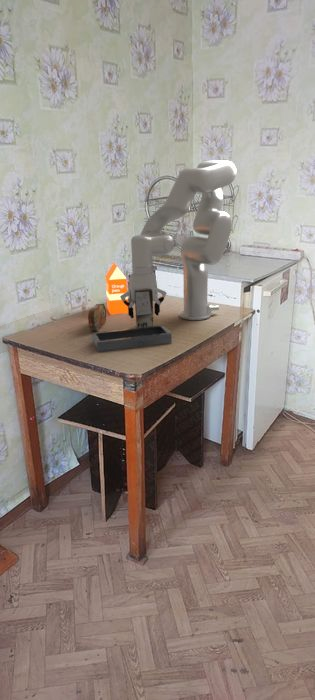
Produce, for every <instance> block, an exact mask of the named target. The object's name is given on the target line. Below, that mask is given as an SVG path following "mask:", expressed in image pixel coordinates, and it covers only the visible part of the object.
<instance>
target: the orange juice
mask: <svg viewBox="0 0 315 700" xmlns="http://www.w3.org/2000/svg"><path fill="white" fill-rule="evenodd" d="M127 280H128V279H127V277H126V275H124V273H123V272H122V271H121V269H120V268H119V267H118V265H117V264H116V263H115V262H113V263H112V264H111V266H110V268H109V270H108V271H107V273H106V275H105V289H106V290H105V291H106V292H105V293H106V302H107V303H106V304H107V305H106V306H107V308H106V309H107V311H108V312H109V314H110V315H119V314H128V306H127V305H125V304H124V303H123V301H122V299H121V298H120V296H121V295H123V294H124V293H126V292H127V291H128V281H127ZM125 299H126V301H127V302H128V299H129V296H127V297H126V298H125Z"/></svg>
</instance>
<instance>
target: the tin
mask: <svg viewBox="0 0 315 700" xmlns="http://www.w3.org/2000/svg"><path fill="white" fill-rule="evenodd" d="M106 309H107V308H106V306H105V304H104V303H97V304H95V305H94V306H93V307H91V308H90V310H89V311H88V316H87V320H88V325H89V326H88V328H89V329H90V331H95V332H100V330H101V329H102V327H104V326H105V324H106V321H107V310H106Z"/></svg>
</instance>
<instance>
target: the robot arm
mask: <svg viewBox="0 0 315 700" xmlns="http://www.w3.org/2000/svg"><path fill="white" fill-rule="evenodd" d="M236 177H237V168H236V166H235V163H233V162H232V161H229V160H204V161H201V162H200V163H199V164H198V165H197V167H189V168H188V167H187V168H184V169H182V170H181V171H180V172H179V174H178V176H177V178H176V179H175V181H174V184H173V186H172V188H171V190H170V192H169V194H168V196H167V198H166V200H165V202H164V203H163V205H161V206H160V207H159V208H157V210H156V211H154V212H153V214H152V215H151V216H149V218H148V219H147V221H146V222H145V224H144V226H143V228H142V231H141V233H140V234H139V235H134V236H132V237H131V241H130V246H131V269H132V273H130V274H129V275H130V280H129V279H128V281H129V290H127V292H126V293H124V294H123V295H121V296H120V298H121V299H122V301H123V303H124V304H125V305H127V306H128V313H127V314H128V316H129V317H130V318H131V319H134V317H135V316H134V307H133V305H134V306H135V302H136V300H135V291H140V290H152V291H153V302H154V303H153V309H154V314H155V316H159V315H160V312H161V307H160V306H161V304H162V303H163V301H164V300H165V298H166V296H167V292H166V291H165V290H162V289H160V288H158V284H157V283H158V282H157V278H156V274H155V272H154V271H156V270H157V269H158V267H157V266H156V265H154V263H153V262H154V257H153V256H157V255H159V256H162V255H163V256H164V255H168V254H170V253H171V252H172V251H173V250H174V248H175V241H174V239H173V237H172V236H171V235H169V234H166V233H162V230H163V229H164V227H166V226H167V225H168V224H169V223H172V222H173V221H176V220H178V219H180V218H182V217H184V216H185V215H186V214H187V212H188V210H189V208H190V205H191V204H192V202H193V200H194V197H195V195H196V194H199V193H200V194H201V197H200V201H199V205H198V207H197V211H196V213H195V216H194V219H193V223H192V228H193V231H194V232H195V233H196V234H199V235H201V236H202V235H203V236H207V238H205V237H200V236H189V237H187V238H185V239H184V240H183V241H182V243H181V246H180V258H181V262H182V269H183V310H182V311H181V312H179V317H180V318H181V319H184V320H189V321H203V320H207V319H210V318H211V316H212V311H218V310H219V308H220V307H219V305H218V304H217V305H214V304H208V282H209V281H208V277H209V275H208V268H207V266H208V265H210V266H212V265H216V264H218V263H219V262H220V261H221V259H222V257H223V255H224V252H225V250H226V247H227V244H228V241H229V239H230V235H231V232H232V227H233V221H232V217H231V215H230V214H229V213H227V212H226V211H222V208H223V204H224V193H223V189H222V188H224V187H227V186H229V185H230V184H232V183H233V182H234V180H235V179H236ZM159 294H160V297H159ZM127 296H128V299H130V301H129V302H127V301H126V299H125V298H126V297H127Z"/></svg>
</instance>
